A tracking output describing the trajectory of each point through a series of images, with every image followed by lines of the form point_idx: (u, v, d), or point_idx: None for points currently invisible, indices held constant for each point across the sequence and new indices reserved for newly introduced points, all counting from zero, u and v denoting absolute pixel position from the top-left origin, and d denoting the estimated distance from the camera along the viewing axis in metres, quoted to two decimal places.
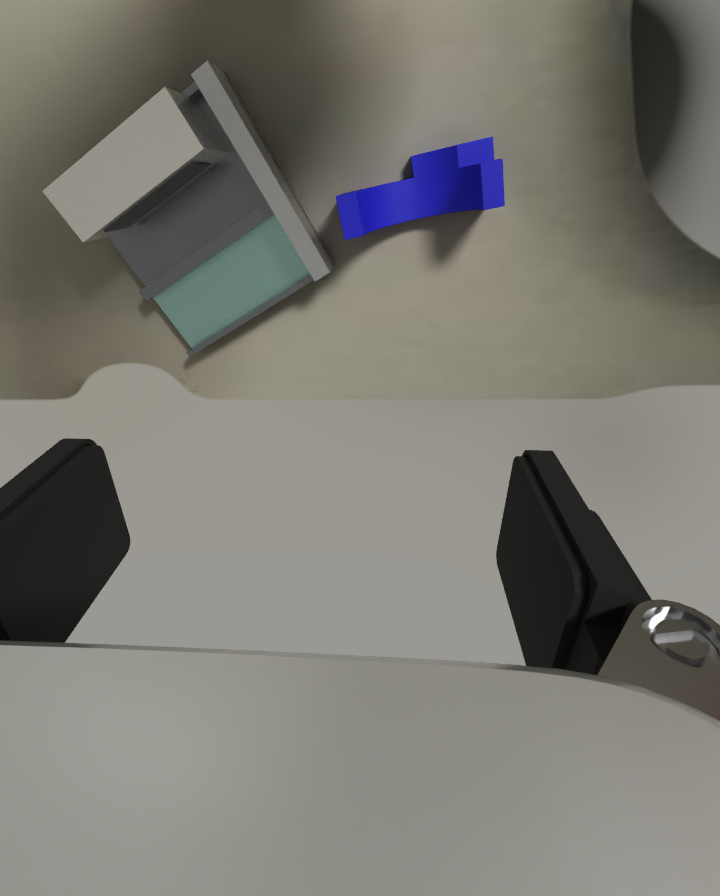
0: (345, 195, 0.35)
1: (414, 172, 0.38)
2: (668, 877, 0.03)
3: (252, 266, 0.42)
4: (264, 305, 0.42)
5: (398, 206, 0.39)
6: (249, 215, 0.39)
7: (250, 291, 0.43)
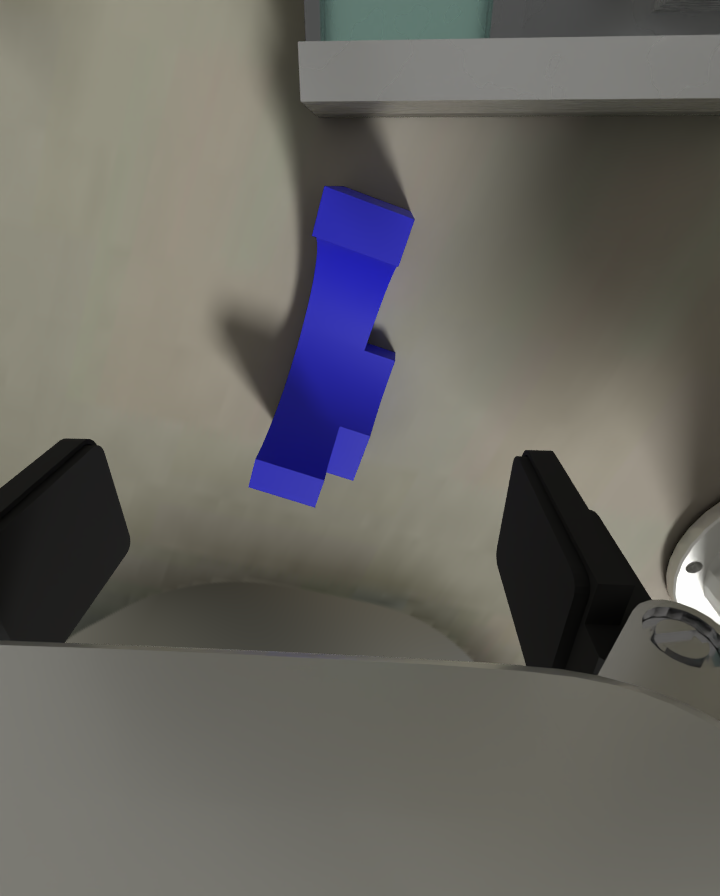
0: (404, 241, 0.15)
1: (370, 354, 0.22)
2: (669, 878, 0.03)
3: None
4: None
5: (336, 307, 0.21)
6: None
7: None
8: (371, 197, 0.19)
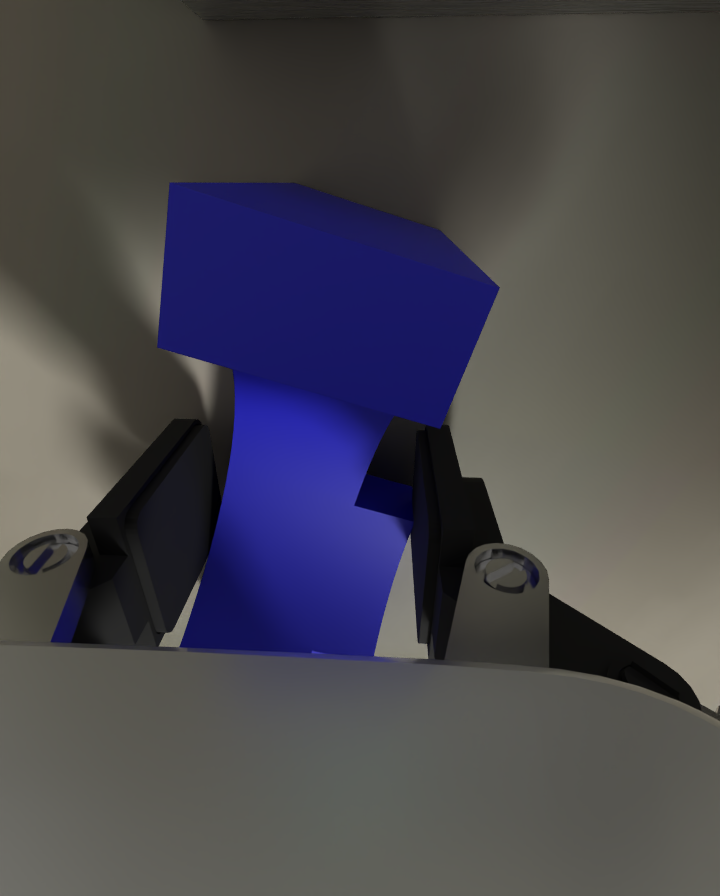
0: (461, 357, 0.05)
1: (367, 512, 0.11)
2: (669, 878, 0.03)
3: None
4: None
5: (291, 435, 0.10)
6: None
7: None
8: (354, 205, 0.08)
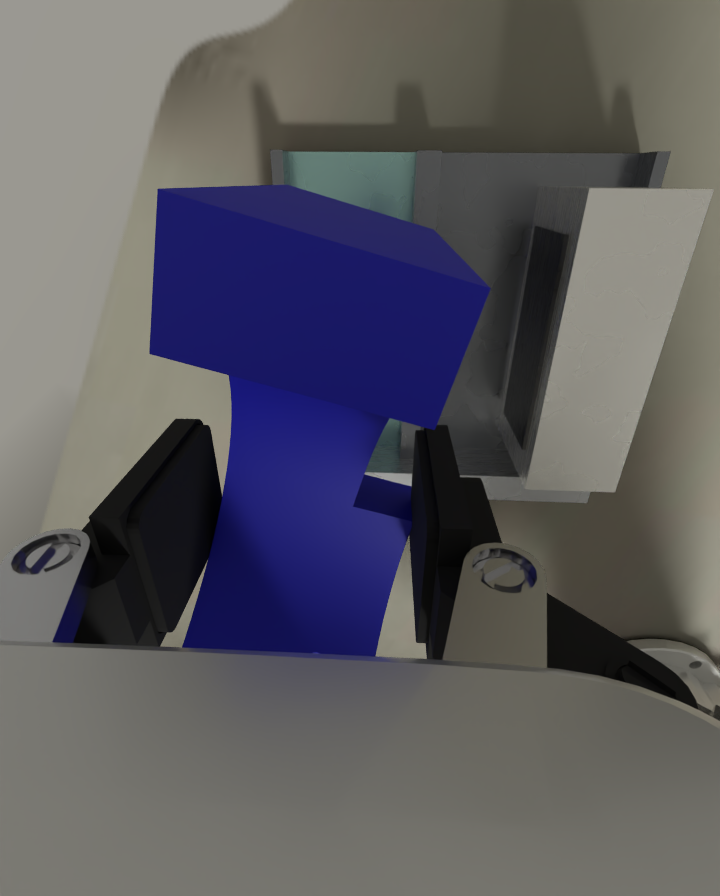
0: (454, 358, 0.05)
1: (366, 513, 0.11)
2: (669, 877, 0.03)
3: None
4: None
5: (289, 437, 0.10)
6: None
7: None
8: (347, 206, 0.08)
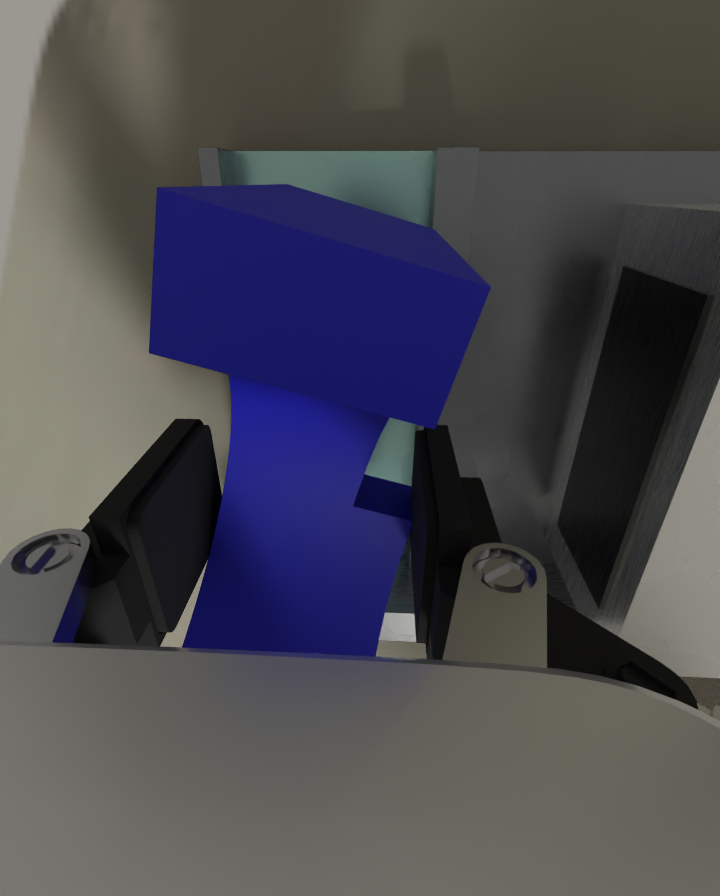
0: (454, 357, 0.05)
1: (366, 512, 0.11)
2: (668, 877, 0.03)
3: None
4: None
5: (289, 437, 0.10)
6: None
7: None
8: (347, 205, 0.08)
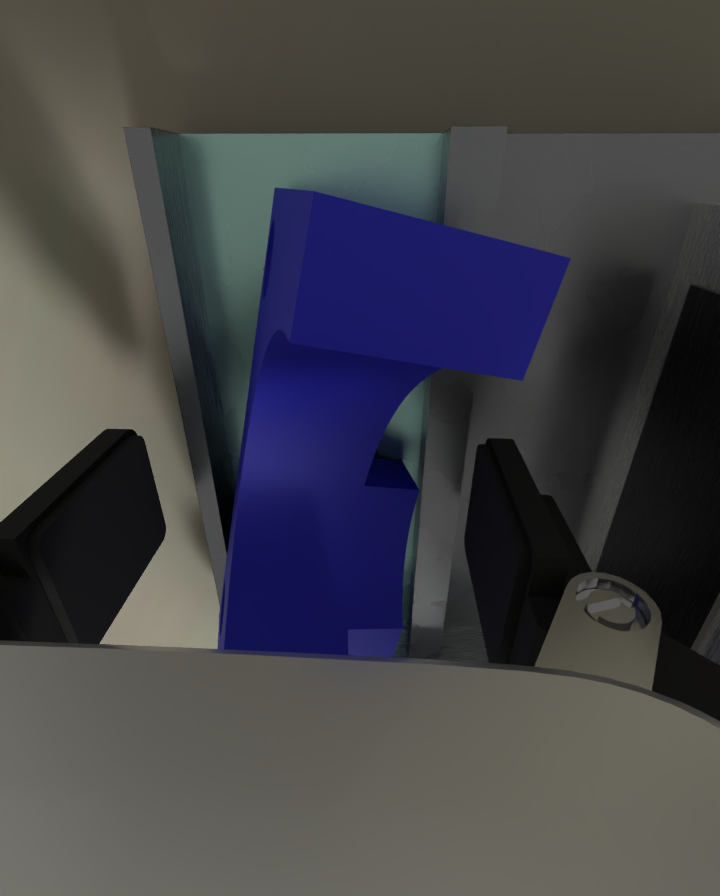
0: (540, 318, 0.06)
1: (376, 489, 0.12)
2: (669, 878, 0.03)
3: None
4: (216, 521, 0.13)
5: (306, 428, 0.10)
6: (441, 611, 0.15)
7: None
8: None
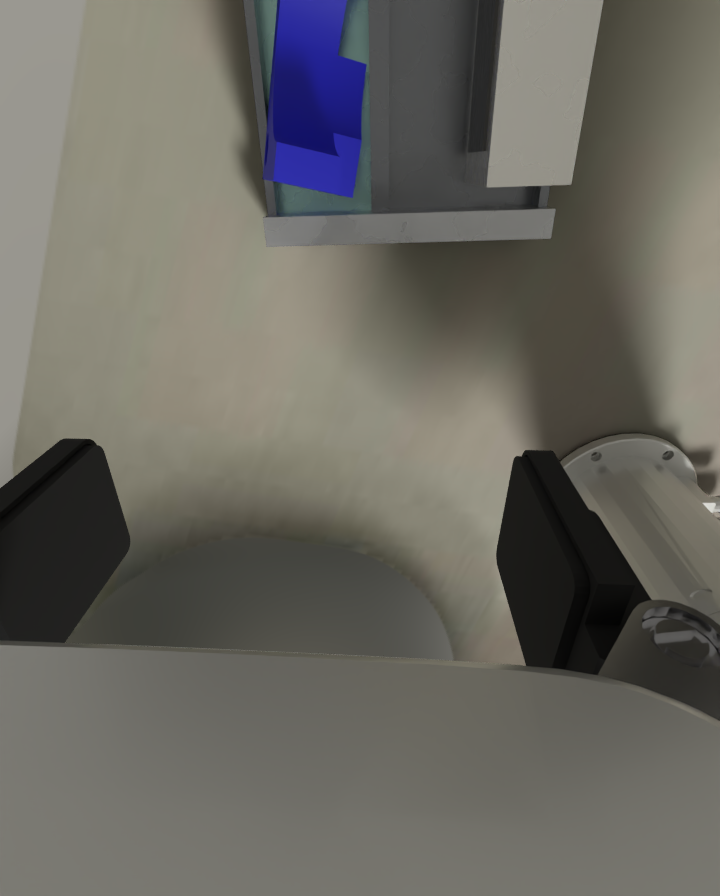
0: None
1: (344, 59, 0.24)
2: (668, 877, 0.03)
3: None
4: (262, 100, 0.25)
5: (307, 1, 0.22)
6: (387, 167, 0.26)
7: None
8: None
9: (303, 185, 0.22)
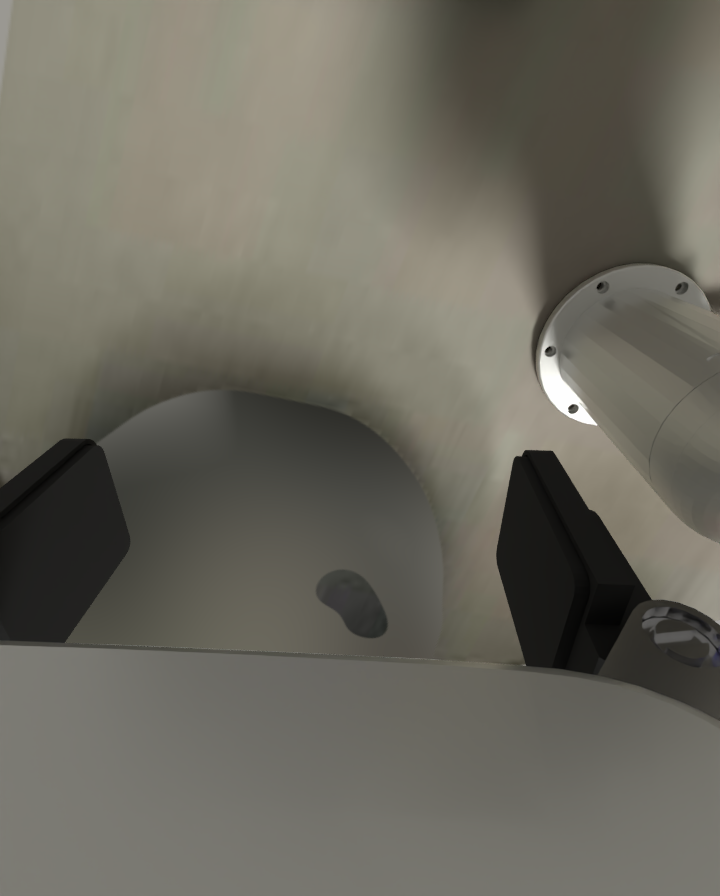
0: None
1: None
2: (669, 877, 0.03)
3: None
4: None
5: None
6: None
7: None
8: None
9: None
